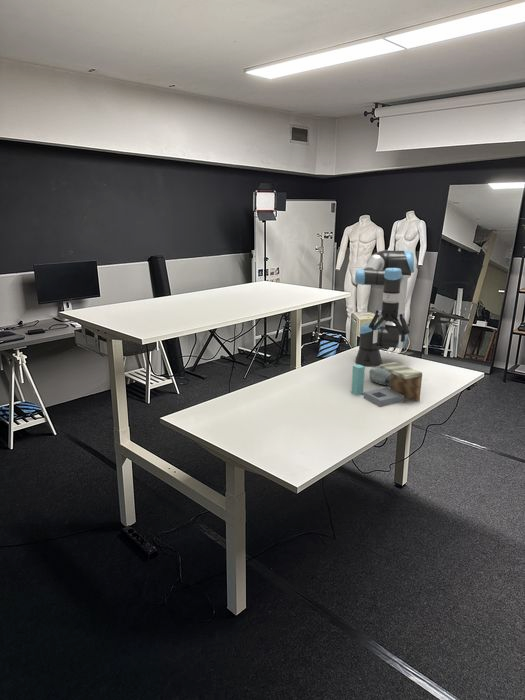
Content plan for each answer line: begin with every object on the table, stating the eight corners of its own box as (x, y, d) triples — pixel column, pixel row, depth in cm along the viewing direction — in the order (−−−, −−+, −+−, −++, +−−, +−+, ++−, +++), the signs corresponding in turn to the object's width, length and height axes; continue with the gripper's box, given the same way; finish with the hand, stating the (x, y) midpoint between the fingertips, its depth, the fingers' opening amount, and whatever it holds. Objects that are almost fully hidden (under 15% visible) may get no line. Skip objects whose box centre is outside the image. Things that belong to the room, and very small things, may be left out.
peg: (351, 392, 231) (352, 365, 227) (358, 391, 233) (359, 364, 229) (356, 395, 228) (358, 368, 224) (363, 394, 230) (364, 366, 226)
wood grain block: (377, 391, 232) (379, 364, 228) (393, 388, 236) (395, 361, 232) (403, 404, 217) (405, 376, 213) (419, 400, 221) (422, 372, 217)
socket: (363, 397, 225) (363, 392, 224) (386, 392, 231) (386, 387, 230) (380, 406, 215) (380, 400, 214) (403, 401, 221) (404, 395, 220)
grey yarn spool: (401, 378, 241) (393, 363, 238) (390, 390, 237) (382, 374, 234) (381, 377, 253) (373, 362, 249) (371, 388, 248) (362, 373, 245)
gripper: (363, 299, 226) (360, 342, 232) (411, 306, 209) (407, 352, 215) (371, 297, 231) (368, 339, 237) (419, 303, 215) (415, 348, 220)
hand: (387, 345), depth 226 cm, fingers open, 13 cm apart
